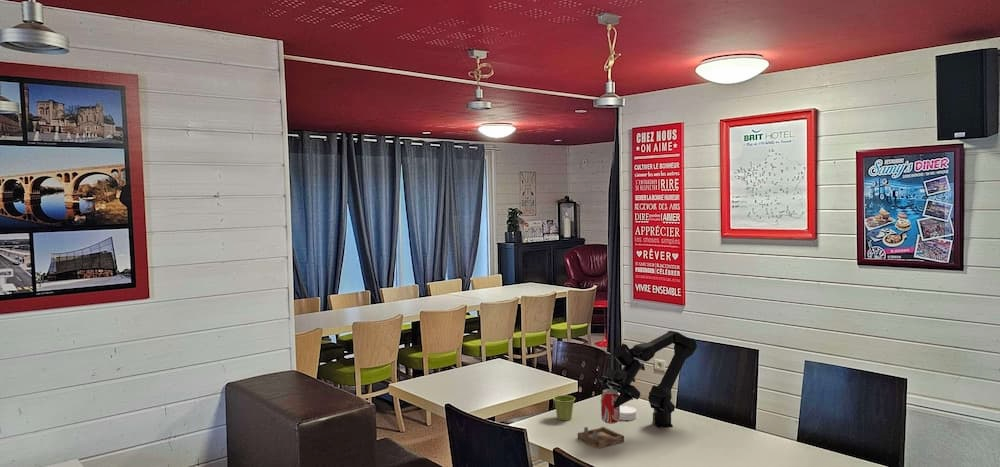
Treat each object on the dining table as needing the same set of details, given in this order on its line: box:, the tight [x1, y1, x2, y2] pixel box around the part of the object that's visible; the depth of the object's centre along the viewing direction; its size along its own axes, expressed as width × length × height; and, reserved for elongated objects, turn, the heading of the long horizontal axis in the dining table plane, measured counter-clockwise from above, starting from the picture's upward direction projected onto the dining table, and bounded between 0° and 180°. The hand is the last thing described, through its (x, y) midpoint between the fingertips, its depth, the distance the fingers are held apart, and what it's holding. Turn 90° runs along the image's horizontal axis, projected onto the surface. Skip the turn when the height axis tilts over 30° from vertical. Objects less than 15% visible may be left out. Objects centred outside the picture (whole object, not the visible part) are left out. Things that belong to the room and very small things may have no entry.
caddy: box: [577, 426, 625, 449], centre depth 244 cm, size 13×12×5 cm
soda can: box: [600, 388, 621, 425], centre depth 246 cm, size 7×7×12 cm
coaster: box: [619, 405, 638, 421], centre depth 271 cm, size 10×10×4 cm
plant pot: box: [552, 394, 576, 421], centre depth 270 cm, size 9×9×9 cm
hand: (607, 405), depth 245 cm, fingers closed on soda can, 7 cm apart
